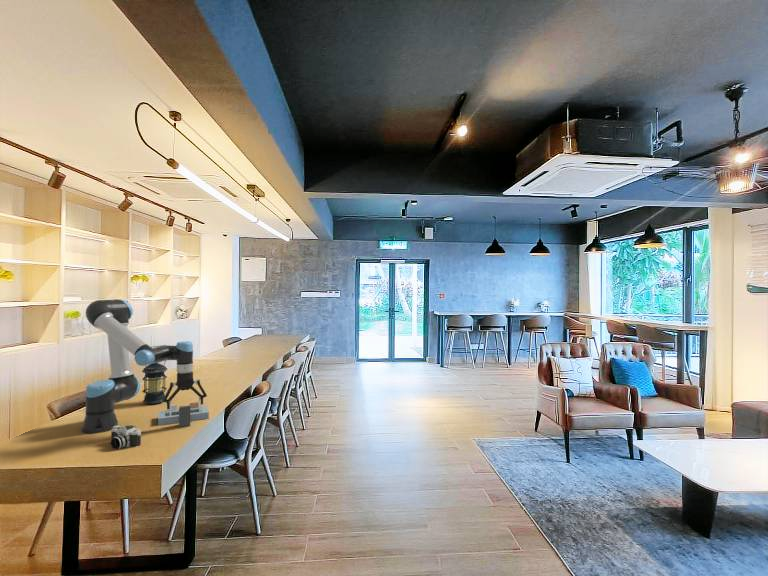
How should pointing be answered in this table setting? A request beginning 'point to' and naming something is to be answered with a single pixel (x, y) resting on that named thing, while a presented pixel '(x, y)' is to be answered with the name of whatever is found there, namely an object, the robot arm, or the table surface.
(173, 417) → the socket block
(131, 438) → the camera
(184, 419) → the plug
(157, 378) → the lantern
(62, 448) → the table surface
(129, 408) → the table surface
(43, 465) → the table surface
